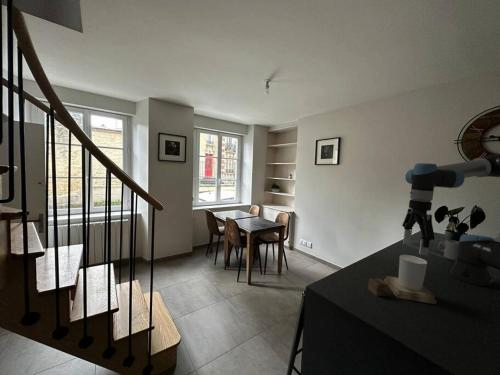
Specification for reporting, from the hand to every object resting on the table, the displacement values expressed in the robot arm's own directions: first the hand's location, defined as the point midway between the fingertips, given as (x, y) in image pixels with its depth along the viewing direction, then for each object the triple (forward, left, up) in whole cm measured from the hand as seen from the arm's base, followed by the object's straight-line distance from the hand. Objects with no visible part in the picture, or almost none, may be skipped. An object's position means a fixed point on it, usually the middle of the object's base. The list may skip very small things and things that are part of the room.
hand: (414, 248), depth 95 cm
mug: (-50, -59, -20) cm, 80 cm away
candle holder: (0, 0, -17) cm, 17 cm away
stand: (0, 0, -20) cm, 20 cm away
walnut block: (+14, +5, -20) cm, 25 cm away
